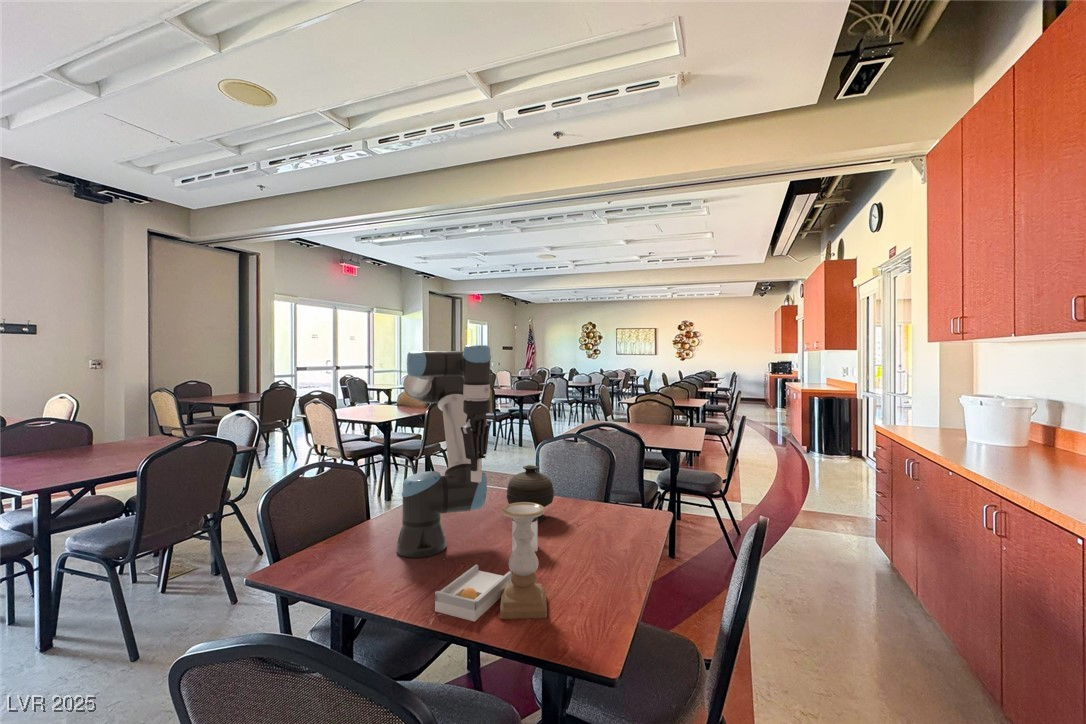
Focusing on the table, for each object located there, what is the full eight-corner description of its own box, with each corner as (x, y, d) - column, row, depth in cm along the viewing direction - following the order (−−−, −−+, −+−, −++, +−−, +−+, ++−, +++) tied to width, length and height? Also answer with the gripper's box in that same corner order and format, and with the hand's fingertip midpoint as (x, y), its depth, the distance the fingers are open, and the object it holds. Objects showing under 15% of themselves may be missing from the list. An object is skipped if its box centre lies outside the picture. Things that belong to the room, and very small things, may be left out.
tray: (435, 611, 112) (435, 592, 112) (475, 579, 129) (475, 562, 129) (474, 621, 108) (474, 601, 108) (511, 587, 124) (511, 569, 124)
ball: (455, 597, 114) (463, 582, 117) (460, 607, 115) (468, 593, 119) (469, 600, 112) (477, 585, 115) (474, 611, 114) (481, 596, 117)
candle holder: (545, 595, 120) (545, 501, 120) (547, 618, 109) (547, 515, 109) (502, 595, 120) (502, 501, 120) (499, 619, 109) (499, 515, 109)
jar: (519, 556, 144) (519, 517, 144) (506, 547, 151) (506, 509, 150) (543, 550, 149) (543, 511, 149) (530, 541, 155) (530, 505, 155)
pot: (519, 505, 191) (522, 457, 190) (559, 516, 183) (563, 465, 182) (495, 520, 175) (499, 467, 174) (538, 532, 167) (542, 477, 166)
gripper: (475, 402, 127) (475, 489, 128) (499, 397, 139) (498, 477, 140) (452, 400, 130) (452, 485, 131) (477, 396, 142) (476, 474, 143)
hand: (476, 481), depth 136 cm, fingers closed
